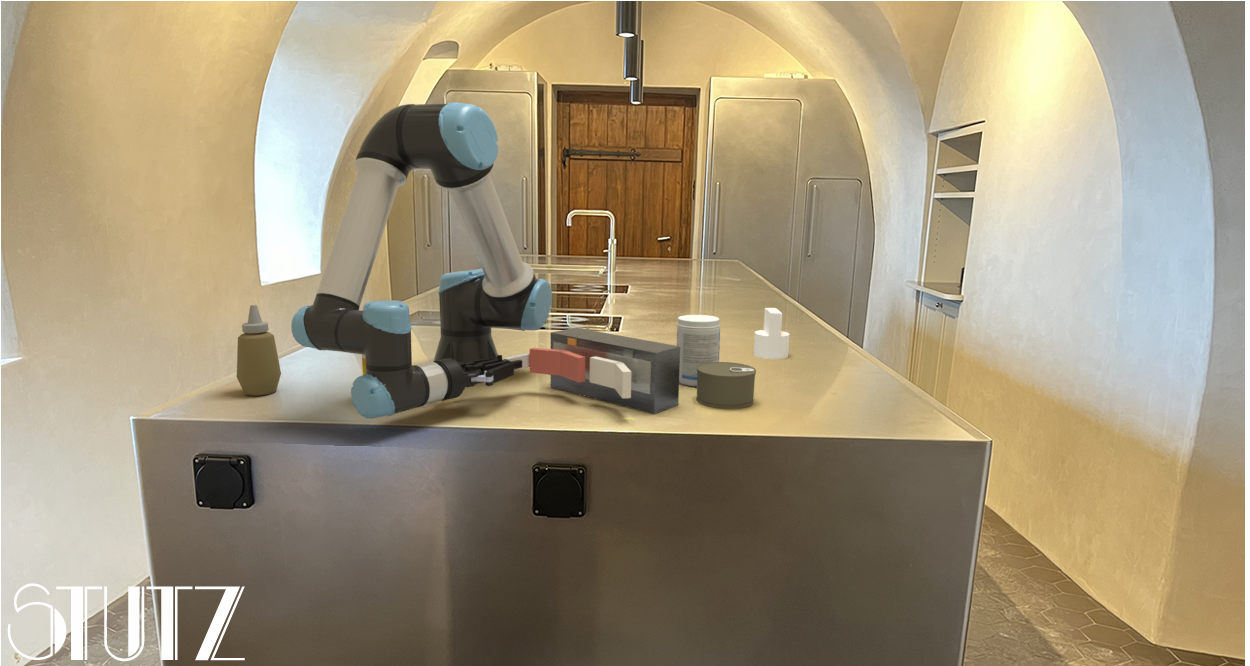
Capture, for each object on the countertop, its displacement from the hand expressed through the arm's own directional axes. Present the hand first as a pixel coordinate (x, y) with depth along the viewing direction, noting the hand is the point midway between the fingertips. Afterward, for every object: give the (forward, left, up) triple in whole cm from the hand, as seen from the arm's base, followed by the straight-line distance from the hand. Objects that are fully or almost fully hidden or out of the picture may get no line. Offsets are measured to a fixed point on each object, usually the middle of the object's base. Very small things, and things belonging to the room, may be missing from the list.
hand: (528, 359), depth 150 cm
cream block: (+18, +12, -2) cm, 22 cm away
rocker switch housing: (+8, +16, -7) cm, 19 cm away
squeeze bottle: (-15, -52, -7) cm, 55 cm away
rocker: (+5, +5, -2) cm, 8 cm away
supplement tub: (+3, +38, -7) cm, 39 cm away
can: (+18, +37, -7) cm, 41 cm away
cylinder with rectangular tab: (-16, +69, -7) cm, 71 cm away
